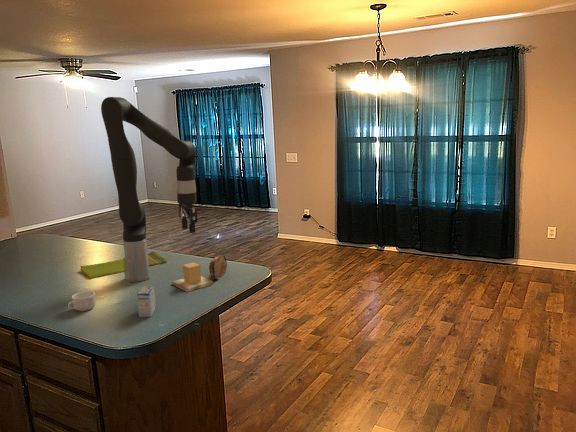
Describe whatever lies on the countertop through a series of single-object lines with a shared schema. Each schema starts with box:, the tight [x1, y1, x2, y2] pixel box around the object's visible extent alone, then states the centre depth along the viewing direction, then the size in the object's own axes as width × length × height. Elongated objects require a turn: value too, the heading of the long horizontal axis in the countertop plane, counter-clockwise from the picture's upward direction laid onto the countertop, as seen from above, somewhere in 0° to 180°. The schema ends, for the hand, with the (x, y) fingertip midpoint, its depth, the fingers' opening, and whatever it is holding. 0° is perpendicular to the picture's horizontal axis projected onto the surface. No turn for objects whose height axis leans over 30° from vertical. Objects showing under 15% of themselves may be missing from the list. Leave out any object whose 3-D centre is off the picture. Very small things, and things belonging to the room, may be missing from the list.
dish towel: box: [80, 250, 168, 280], centre depth 213 cm, size 15×36×3 cm, turn 129°
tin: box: [208, 254, 227, 280], centre depth 197 cm, size 15×3×8 cm, turn 168°
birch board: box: [171, 275, 214, 293], centre depth 188 cm, size 12×12×1 cm
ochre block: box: [182, 262, 202, 284], centre depth 187 cm, size 5×5×7 cm
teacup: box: [67, 290, 96, 312], centre depth 164 cm, size 10×8×5 cm
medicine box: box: [136, 285, 157, 318], centre depth 160 cm, size 8×4×9 cm, turn 5°
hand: (188, 230), depth 187 cm, fingers open, 8 cm apart
